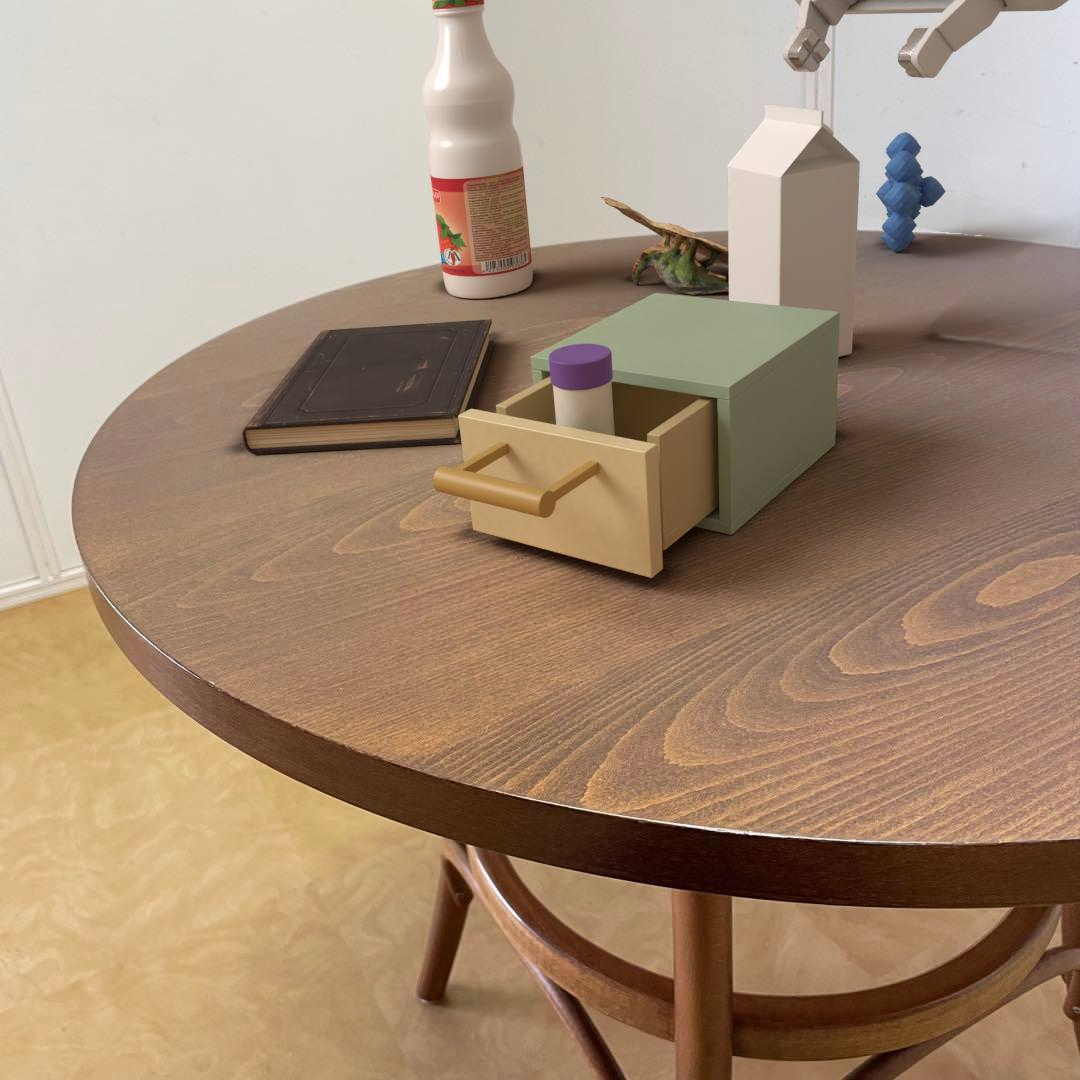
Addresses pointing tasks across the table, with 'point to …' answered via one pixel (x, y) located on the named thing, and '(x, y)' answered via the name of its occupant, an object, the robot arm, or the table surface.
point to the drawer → (590, 475)
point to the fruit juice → (475, 160)
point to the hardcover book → (375, 389)
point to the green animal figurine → (678, 256)
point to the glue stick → (583, 387)
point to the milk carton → (794, 217)
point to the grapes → (905, 191)
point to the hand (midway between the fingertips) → (851, 67)
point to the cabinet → (733, 383)
